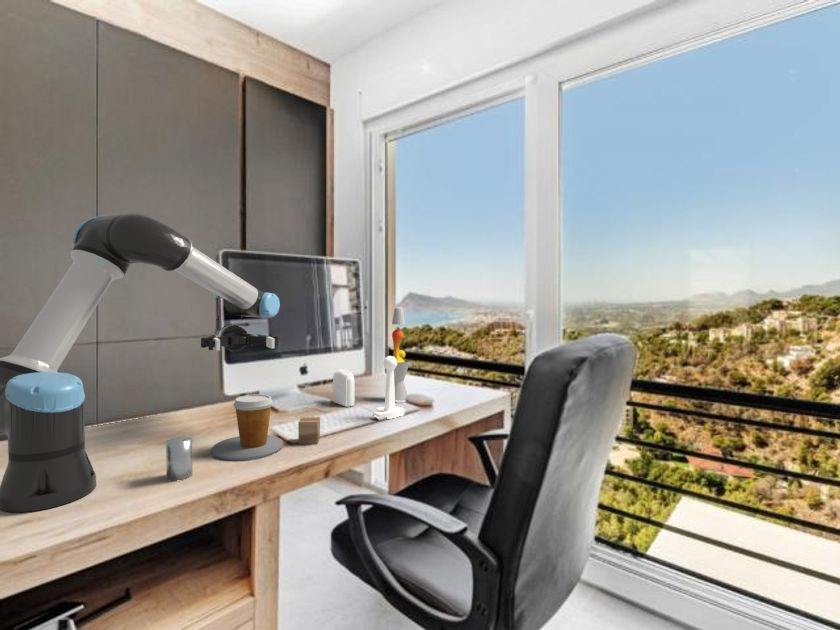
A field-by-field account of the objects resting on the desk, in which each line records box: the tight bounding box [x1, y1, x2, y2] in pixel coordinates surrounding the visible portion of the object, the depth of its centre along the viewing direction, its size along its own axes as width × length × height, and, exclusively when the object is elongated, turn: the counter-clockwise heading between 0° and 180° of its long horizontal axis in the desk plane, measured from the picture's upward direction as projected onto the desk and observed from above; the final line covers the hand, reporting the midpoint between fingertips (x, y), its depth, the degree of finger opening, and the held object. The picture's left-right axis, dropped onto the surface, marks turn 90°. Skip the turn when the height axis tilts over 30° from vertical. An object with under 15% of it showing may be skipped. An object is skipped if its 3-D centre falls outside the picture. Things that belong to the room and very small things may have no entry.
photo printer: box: [332, 369, 356, 408], centre depth 166 cm, size 10×4×12 cm, turn 39°
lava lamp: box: [391, 306, 411, 400], centre depth 172 cm, size 9×9×35 cm
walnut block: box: [297, 416, 321, 445], centre depth 125 cm, size 5×5×6 cm
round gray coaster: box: [211, 434, 284, 462], centre depth 118 cm, size 17×17×1 cm
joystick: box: [372, 355, 405, 420], centre depth 151 cm, size 11×8×20 cm
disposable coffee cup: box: [233, 393, 274, 448], centre depth 119 cm, size 10×10×12 cm
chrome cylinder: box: [165, 436, 193, 482], centre depth 100 cm, size 5×5×8 cm
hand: (246, 344), depth 121 cm, fingers open, 13 cm apart
